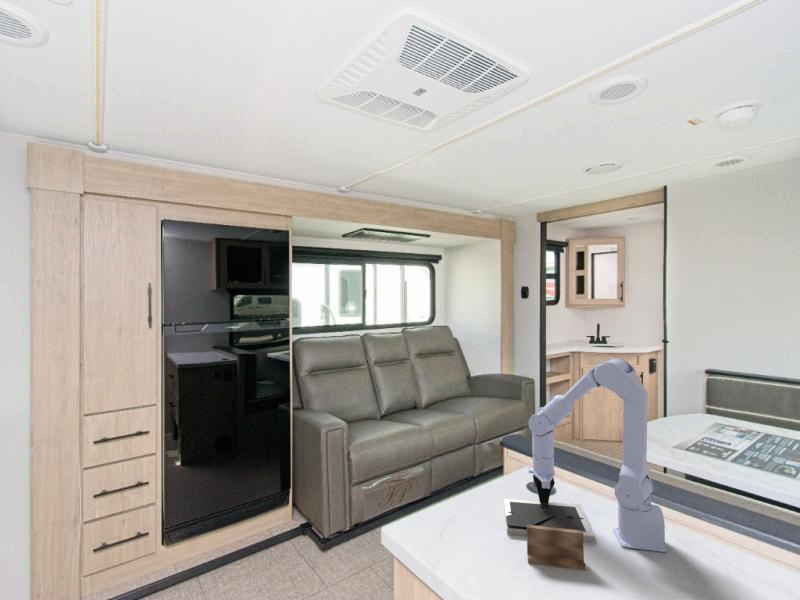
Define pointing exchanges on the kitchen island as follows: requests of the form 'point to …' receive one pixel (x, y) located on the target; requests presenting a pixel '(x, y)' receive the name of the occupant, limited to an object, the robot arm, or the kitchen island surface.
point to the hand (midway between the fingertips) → (543, 502)
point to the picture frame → (545, 517)
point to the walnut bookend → (555, 547)
